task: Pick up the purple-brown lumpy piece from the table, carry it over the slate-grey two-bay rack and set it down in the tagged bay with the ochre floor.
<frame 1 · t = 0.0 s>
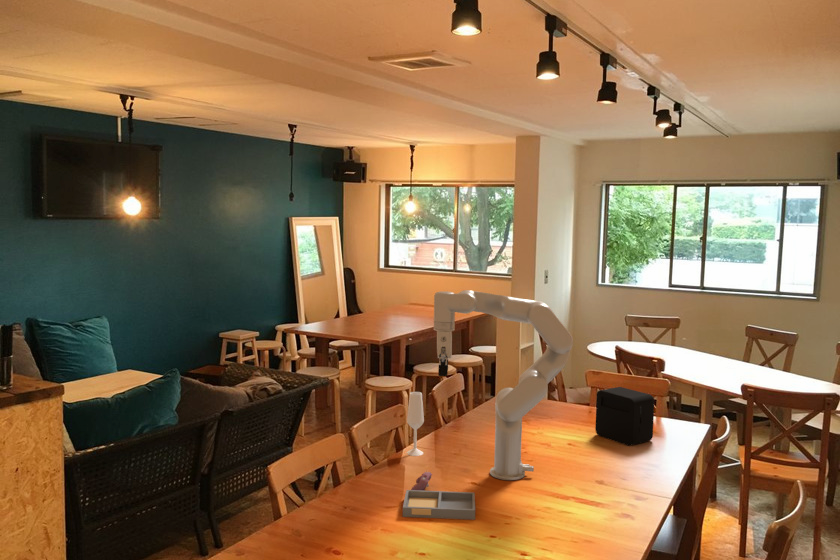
hand: (443, 373, 255), 37 cm above the table, tool pointing down, fingers open, 9 cm apart
purple-brown lumpy piece: (421, 490, 241), on the table
bay rack: (439, 508, 225), on the table
air purifier: (624, 438, 302), on the table
champagne flute: (414, 453, 278), on the table
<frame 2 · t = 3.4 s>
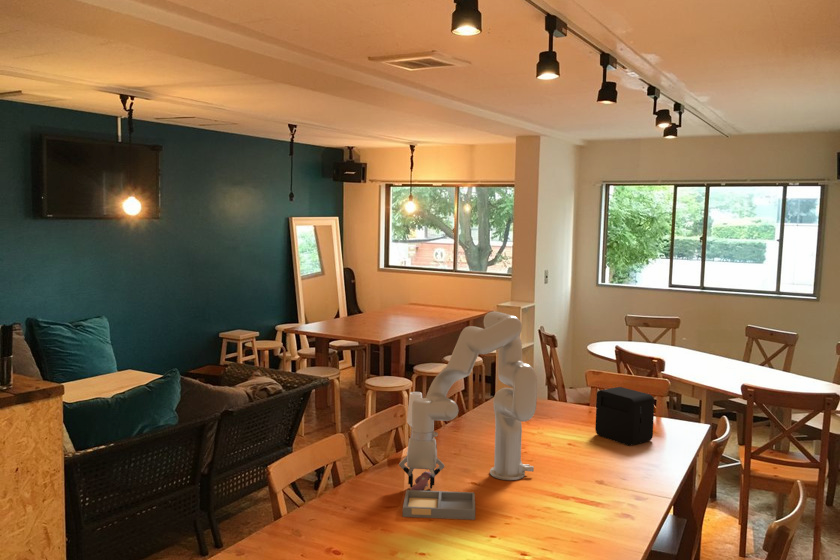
hand: (421, 486, 241), 1 cm above the table, tool pointing down, fingers closed on purple-brown lumpy piece, 6 cm apart
purple-brown lumpy piece: (421, 489, 241), on the table, touching gripper
everything else where it was.
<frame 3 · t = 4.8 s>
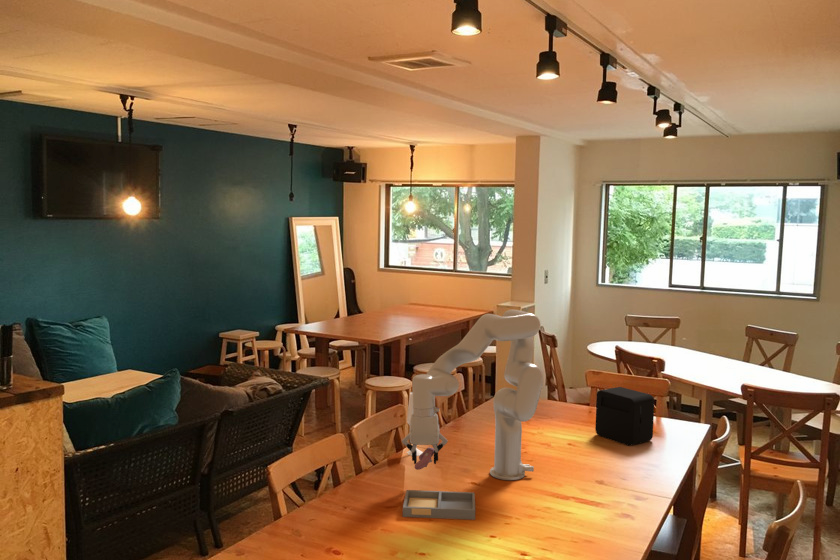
hand: (425, 462, 241), 9 cm above the table, tool pointing down, fingers closed on purple-brown lumpy piece, 6 cm apart
purple-brown lumpy piece: (425, 465, 241), point 8 cm above the table, touching gripper
everything else where it was.
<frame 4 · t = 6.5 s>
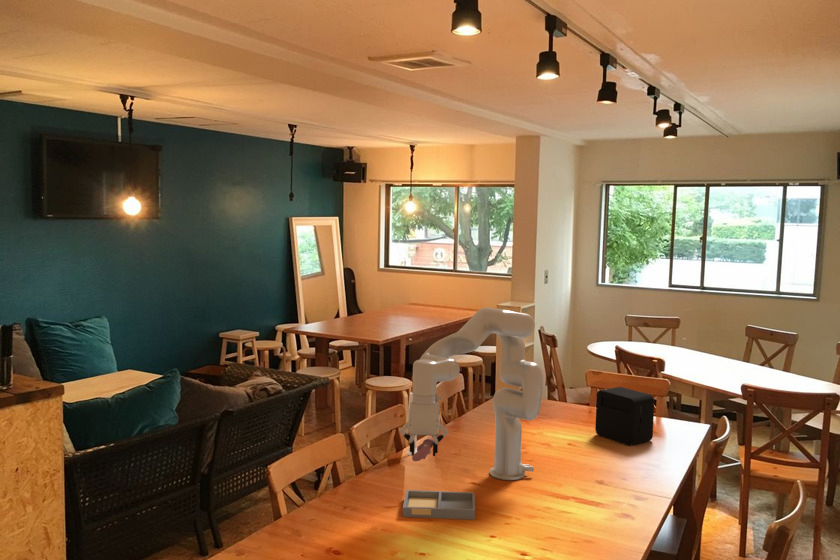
hand: (423, 454, 224), 18 cm above the table, tool pointing down, fingers closed on purple-brown lumpy piece, 6 cm apart
purple-brown lumpy piece: (423, 457, 224), point 16 cm above the table, touching gripper
everything else where it was.
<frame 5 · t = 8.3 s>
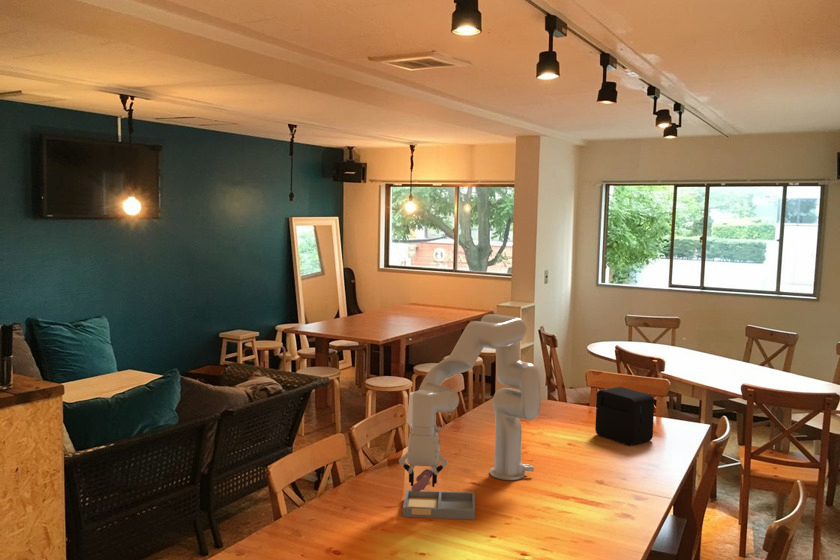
hand: (422, 484, 225), 8 cm above the table, tool pointing down, fingers closed on purple-brown lumpy piece, 6 cm apart
purple-brown lumpy piece: (422, 488, 225), point 7 cm above the table, touching gripper
everything else where it was.
when the fingers open (3 cm above the table, at t = 9.7 s): purple-brown lumpy piece drops 1 cm, resting on bay rack.
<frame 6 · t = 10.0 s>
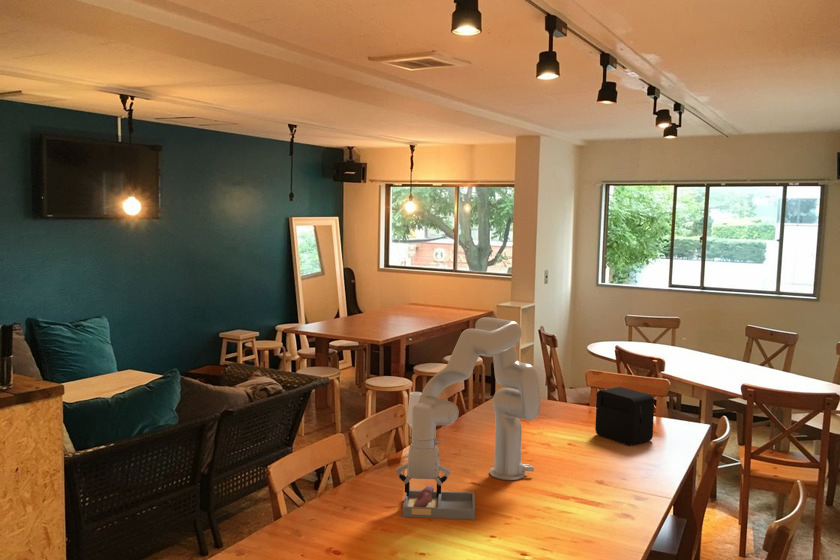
hand: (422, 495, 225), 4 cm above the table, tool pointing down, fingers open, 9 cm apart
purple-brown lumpy piece: (424, 505, 225), point 1 cm above the table, touching bay rack
everything else where it was.
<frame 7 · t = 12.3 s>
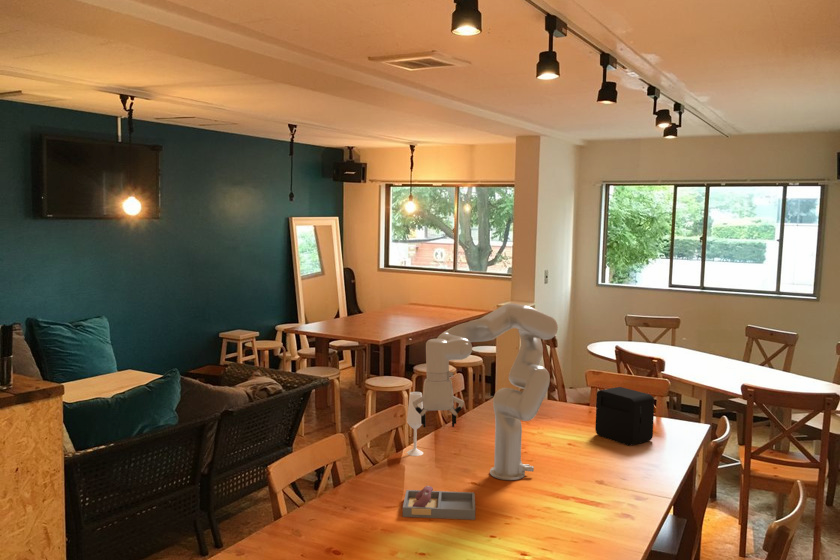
hand: (438, 426, 237), 23 cm above the table, tool pointing down, fingers open, 9 cm apart
nothing on the table moved.
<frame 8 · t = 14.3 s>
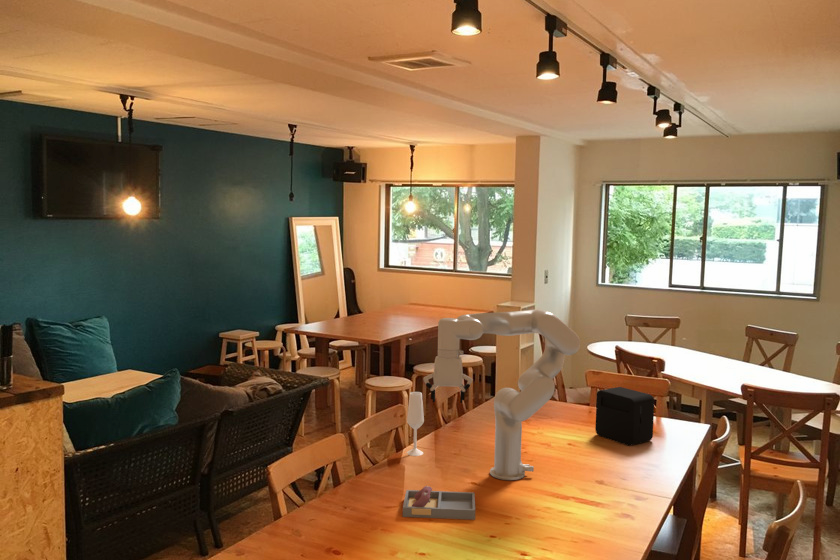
hand: (447, 401, 247), 28 cm above the table, tool pointing down, fingers open, 9 cm apart
nothing on the table moved.
at the end: purple-brown lumpy piece 0.2 cm from the target spot on the bay rack, point 0.8 cm above the bay rack's base; the gripper is holding nothing; purple-brown lumpy piece tilted 0° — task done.
